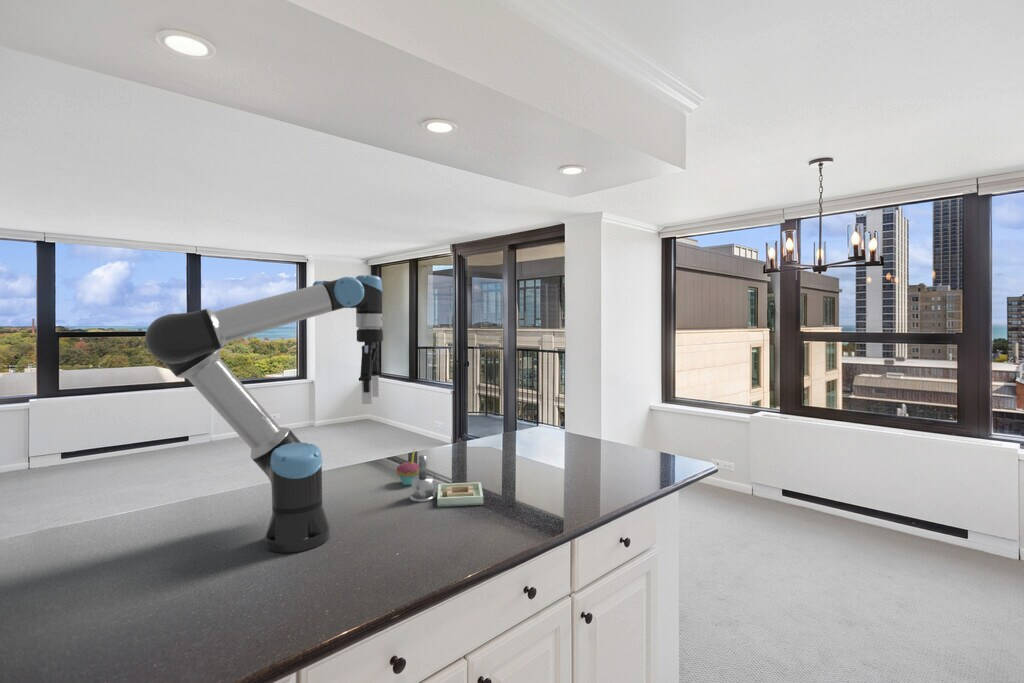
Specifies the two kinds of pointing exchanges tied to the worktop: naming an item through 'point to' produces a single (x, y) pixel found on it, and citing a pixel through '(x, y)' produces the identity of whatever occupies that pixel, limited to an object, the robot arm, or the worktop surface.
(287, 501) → the robot arm
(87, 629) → the worktop surface
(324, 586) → the worktop surface
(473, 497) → the tray
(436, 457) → the worktop surface
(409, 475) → the cupcake
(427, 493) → the silver bell-shaped piece
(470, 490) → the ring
